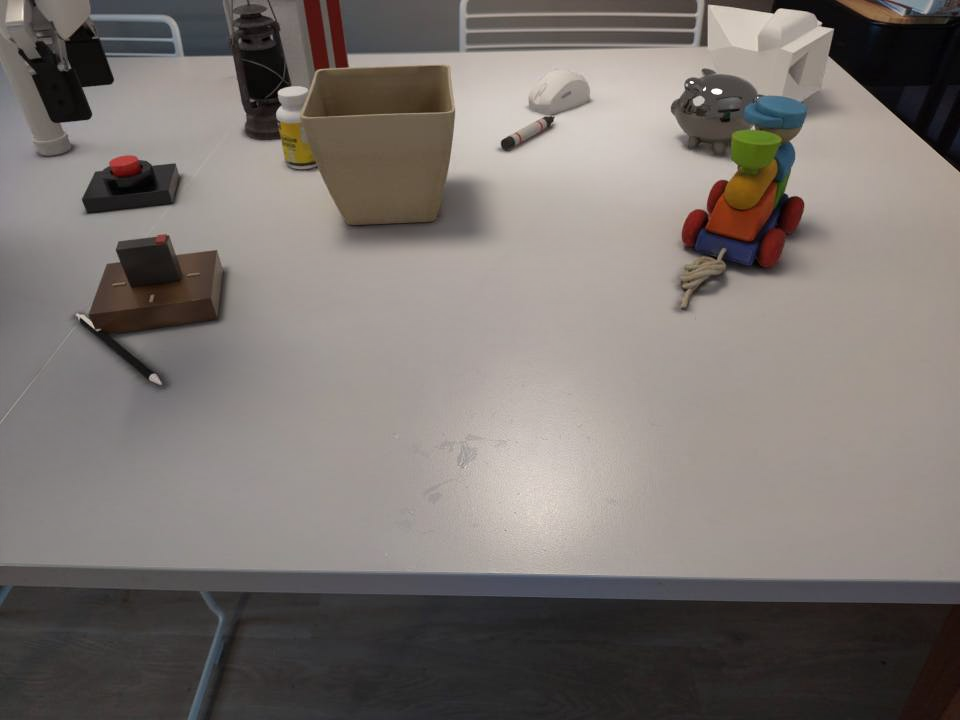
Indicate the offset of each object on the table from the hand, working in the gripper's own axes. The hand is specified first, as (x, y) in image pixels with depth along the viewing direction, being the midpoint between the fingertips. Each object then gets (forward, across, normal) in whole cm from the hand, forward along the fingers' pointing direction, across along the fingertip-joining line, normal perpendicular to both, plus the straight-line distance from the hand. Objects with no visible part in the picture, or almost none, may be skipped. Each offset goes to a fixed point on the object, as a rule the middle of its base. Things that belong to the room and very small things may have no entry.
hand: (85, 101), depth 61 cm
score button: (+22, -39, -10) cm, 45 cm away
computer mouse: (+26, -59, +65) cm, 91 cm away
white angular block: (+27, -53, +102) cm, 118 cm away
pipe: (+25, -60, -26) cm, 70 cm away
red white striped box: (+25, -82, +15) cm, 87 cm away
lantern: (+26, -61, +11) cm, 67 cm away
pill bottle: (+26, -44, +16) cm, 53 cm away
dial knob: (+23, -7, -2) cm, 24 cm away
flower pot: (+26, -25, +28) cm, 45 cm away
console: (+26, -7, -2) cm, 27 cm away
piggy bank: (+27, -33, +83) cm, 93 cm away
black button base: (+25, -38, -10) cm, 47 cm away
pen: (+26, +2, -6) cm, 27 cm away
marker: (+26, -45, +55) cm, 76 cm away
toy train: (+27, -1, +69) cm, 74 cm away
